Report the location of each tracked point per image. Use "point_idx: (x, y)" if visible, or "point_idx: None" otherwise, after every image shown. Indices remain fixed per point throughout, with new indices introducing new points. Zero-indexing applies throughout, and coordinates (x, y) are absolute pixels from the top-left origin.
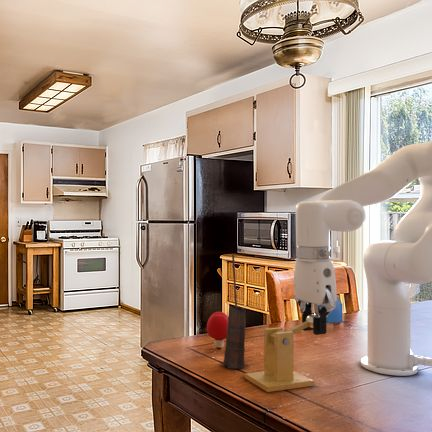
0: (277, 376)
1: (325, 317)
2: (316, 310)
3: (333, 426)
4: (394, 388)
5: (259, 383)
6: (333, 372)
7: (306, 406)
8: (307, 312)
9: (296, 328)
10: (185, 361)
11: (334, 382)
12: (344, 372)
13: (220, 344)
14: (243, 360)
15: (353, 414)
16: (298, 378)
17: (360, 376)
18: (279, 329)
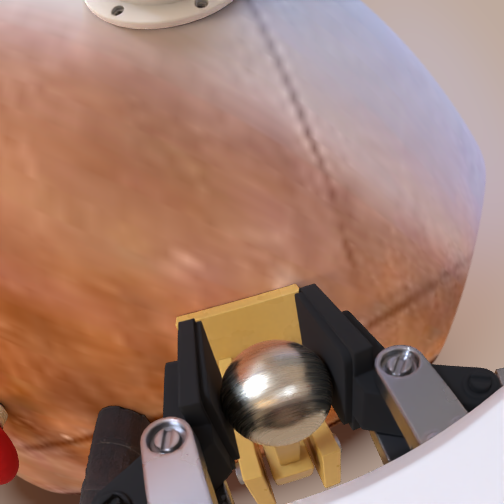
0: None
1: (368, 347)
2: (405, 453)
3: (453, 313)
4: (341, 55)
5: None
6: (176, 156)
7: (392, 336)
8: (227, 458)
9: (299, 445)
10: None
11: (275, 203)
12: (180, 115)
13: (3, 415)
14: (134, 424)
15: (440, 261)
16: (278, 326)
17: (229, 81)
18: (264, 479)
